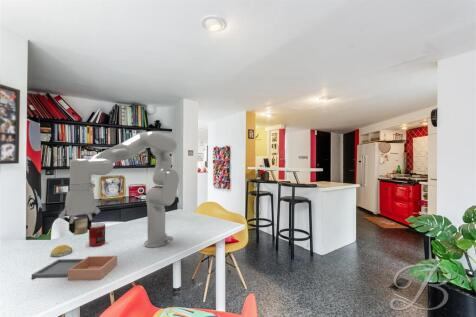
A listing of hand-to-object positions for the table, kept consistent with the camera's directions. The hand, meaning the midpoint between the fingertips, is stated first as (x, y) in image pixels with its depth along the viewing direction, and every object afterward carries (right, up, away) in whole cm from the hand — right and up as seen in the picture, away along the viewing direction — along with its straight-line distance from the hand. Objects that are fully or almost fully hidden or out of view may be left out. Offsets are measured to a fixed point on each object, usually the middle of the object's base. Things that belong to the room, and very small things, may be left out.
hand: (80, 230), depth 95 cm
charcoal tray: (-9, -18, +2) cm, 20 cm away
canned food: (-12, -18, +31) cm, 38 cm away
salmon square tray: (+7, -18, -1) cm, 19 cm away
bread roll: (-23, -18, +19) cm, 35 cm away
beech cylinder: (0, -1, 0) cm, 1 cm away
